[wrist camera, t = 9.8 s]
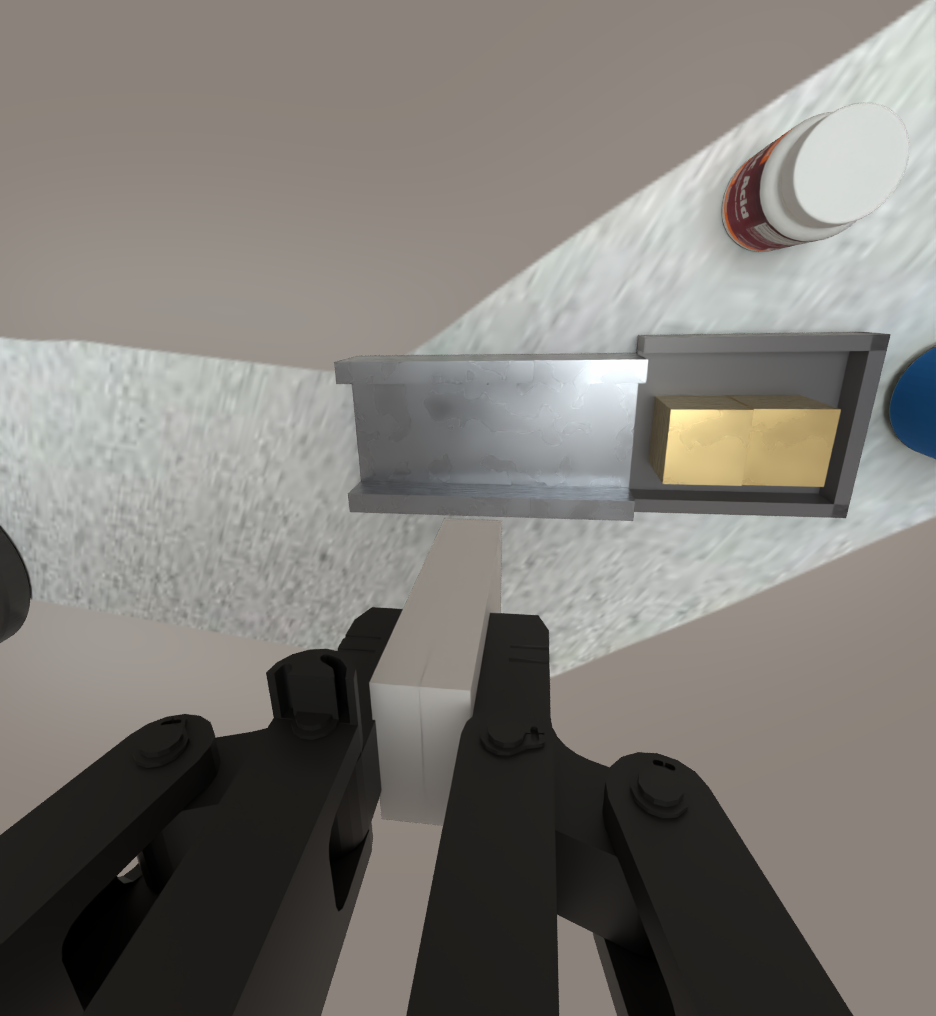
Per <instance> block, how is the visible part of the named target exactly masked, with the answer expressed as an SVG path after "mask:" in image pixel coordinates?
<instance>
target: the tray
mask: <svg viewBox="0 0 936 1016" xmlns="http://www.w3.org/2000/svg"><path fill="white" fill-rule="evenodd" d="M889 338H890V334H881V333H869V332H829V333H759V334H689V335H638V342H637V354H639V355H641V356H643V357H644V358H646V359H648V367H647V378H646V383H638V390H637V401H636V413H635V424H634V435H633V447H632V458H631V469H630V481H629V489H630V491H631V493H632V496H633V498H634V500H635V507H634V512H660V513H694V514H728V515H762V516H797V517H831V518H846V516H847V512H848V508H849V504H850V500H851V495H852V491H853V487H854V483H855V479H856V475H857V471H858V467H859V462H860V458H861V454H862V450H863V446H864V442H865V438H866V433H867V429H868V425H869V421H870V417H871V413H872V409H873V405H874V400H875V396H876V392H877V388H878V384H879V380H880V376H881V371H882V367H883V363H884V359H885V355H886V351H887V347H888V343H889ZM727 395H802V396H805V397H808V398H810V399H813V400H816V401H819V402H822V403H824V404H827V405H830V406H833V407H836V408H838V409H841V412H840V416H839V421H838V425H837V430H836V434H835V439H834V443H833V448H832V452H831V457H830V461H829V466H828V470H827V475H826V479H825V484H824V487H807V486H763V485H742V486H728V485H684V484H662V482H661V481H660V479H659V477H658V476H657V474H656V473H655V471H654V470H653V468H652V466H651V465H650V463H649V462H648V460H649V450H650V440H651V430H652V420H653V410H654V400H655V396H727Z"/></svg>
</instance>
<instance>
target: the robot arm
mask: <svg viewBox="0 0 936 1016" xmlns="http://www.w3.org/2000/svg"><path fill="white" fill-rule="evenodd" d="M501 564H502V521H498V520H472V519H445V518H444V521H443V523H442V525H441V527H440V529H439V532H438V534H437V536H436V538H435V540H434V542H433V545H432V547H431V549H430V551H429V553H428V556H427V558H426V560H425V562H424V564H423V567H422V569H421V571H420V573H419V575H418V577H417V580H416V582H415V584H414V586H413V588H412V591H411V593H410V595H409V597H408V599H407V601H406V604H405V606H404V608H403V609H392V608H376V607H372V608H370V609H369V610H367V611H366V612H365V613H363V614H362V615H361V616H359V617H358V618H357V619H355V620H354V622H353V623H352V625H351V627H350V629H349V630H348V632H347V634H346V637H345V638H344V639H343V640H342V642H341V644H340V645H339V647H338V651H334V650H330V649H313V650H306V651H303V652H299V653H296V654H292V655H290V656H288V657H286V658H284V659H282V660H281V661H279V662H277V663H276V664H275V665H274V666H273V667H272V668H271V669H270V670H268V671H267V672H266V675H267V680H268V687H269V692H270V698H271V704H272V710H273V716H274V718H273V720H272V722H271V723H270V725H269V726H268V728H266V729H262V730H258V731H253V732H248V733H242V734H236V735H230V736H223V737H217V738H215V734H214V731H213V728H212V725H211V723H210V722H209V721H208V720H206V719H204V718H203V717H201V716H197V715H189V714H182V715H175V716H169V717H165V718H163V719H160V720H157V721H154V722H152V723H149V724H147V725H145V726H144V727H142V728H141V729H139V730H137V731H136V732H134V733H132V734H131V735H129V736H128V737H127V738H125V739H124V740H123V741H121V742H120V743H119V744H118V745H116V746H115V747H114V748H112V749H111V750H110V751H108V752H107V753H106V754H105V755H103V756H102V757H101V758H99V759H98V760H97V761H96V762H94V763H93V764H92V765H90V766H89V767H88V768H86V769H85V770H84V771H83V772H81V773H80V774H79V775H77V776H76V777H75V778H74V779H72V780H71V781H70V782H68V783H67V784H66V785H65V786H63V787H62V788H61V789H59V790H58V791H57V792H56V793H54V794H53V795H52V796H50V797H49V798H48V799H46V800H45V801H44V802H42V803H41V804H40V805H39V806H37V807H36V808H35V809H33V810H32V811H31V812H30V813H28V814H27V815H26V816H25V817H23V818H22V819H21V820H20V821H18V822H17V823H15V824H14V825H13V826H11V827H10V828H9V829H8V830H6V831H5V832H4V833H3V834H1V835H0V1016H321V1013H322V1010H323V1007H324V1004H325V1001H326V997H327V994H328V991H329V987H330V984H331V981H332V978H333V975H334V971H335V968H336V965H337V962H338V958H339V955H340V952H341V949H342V945H343V942H344V939H345V936H346V932H347V929H348V926H349V922H350V920H351V916H352V913H353V910H354V907H355V904H356V900H357V897H358V894H359V890H360V887H361V884H362V881H363V878H364V874H365V871H366V868H367V865H368V861H369V858H370V855H371V852H372V842H373V833H372V824H371V821H372V818H373V815H374V812H375V809H376V806H377V803H378V800H379V797H380V806H381V816H382V819H386V820H395V821H405V822H414V823H423V824H432V825H441V826H443V829H442V834H441V839H440V844H439V850H438V855H437V860H436V865H435V871H434V875H433V881H432V886H431V891H430V896H429V901H428V906H427V912H426V917H425V922H424V927H423V932H422V938H421V943H420V948H419V953H418V958H417V963H416V968H415V974H414V979H413V984H412V989H411V995H410V999H409V1005H408V1010H407V1016H559V991H558V990H559V989H558V946H557V945H558V941H557V915H559V916H561V917H563V918H565V919H567V920H569V921H571V922H573V923H575V924H577V925H579V926H582V927H583V928H585V929H587V930H589V931H591V932H593V936H594V940H595V943H596V946H597V950H598V953H599V956H600V960H601V963H602V966H603V970H604V973H605V977H606V979H607V983H608V987H609V990H610V993H611V997H612V1000H613V1003H614V1006H615V1010H616V1013H617V1016H853V1015H852V1013H851V1012H850V1010H849V1009H848V1007H847V1005H846V1003H845V1002H844V1000H843V999H842V997H841V996H840V994H839V992H838V991H837V989H836V988H835V986H834V984H833V983H832V981H831V980H830V978H829V977H828V975H827V973H826V972H825V970H824V969H823V967H822V965H821V964H820V962H819V961H818V959H817V958H816V956H815V954H814V953H813V952H812V950H811V948H810V946H809V945H808V943H807V942H806V940H805V939H804V937H803V935H802V934H801V932H800V931H799V929H798V927H797V926H796V924H795V923H794V921H793V920H792V918H791V916H790V915H789V913H788V912H787V910H786V908H785V907H784V905H783V904H782V902H781V901H780V899H779V897H778V896H777V894H776V893H775V891H774V890H773V888H772V886H771V885H770V884H769V882H768V880H767V878H766V877H765V875H764V874H763V872H762V870H761V869H760V867H759V866H758V864H757V863H756V861H755V859H754V858H753V856H752V855H751V853H750V852H749V850H748V848H747V847H746V845H745V844H744V842H743V840H742V839H741V837H740V836H739V834H738V833H737V831H736V829H735V828H734V826H733V825H732V823H731V821H730V820H729V818H728V817H727V815H726V814H725V812H724V810H723V809H722V807H721V806H720V804H719V802H718V801H717V799H716V798H715V796H714V795H713V793H712V791H711V790H710V788H709V787H708V786H707V785H706V783H705V782H704V781H703V780H702V779H701V778H700V777H699V776H698V774H697V773H696V772H695V771H693V770H692V769H690V768H689V767H687V766H686V765H684V764H682V763H681V762H679V761H678V760H675V759H672V758H669V757H667V756H664V755H661V754H658V753H642V752H637V753H634V754H630V755H627V756H623V757H621V758H620V759H619V760H618V761H616V762H615V763H614V764H613V765H612V766H611V767H607V766H604V765H601V764H599V763H596V762H593V761H591V760H588V759H586V758H584V757H582V756H580V755H578V754H576V753H575V752H573V751H572V750H570V749H569V748H568V747H566V746H565V745H564V744H563V743H562V741H561V740H560V739H559V738H558V737H557V735H556V733H555V731H554V729H553V728H552V723H551V718H550V669H549V630H548V629H547V627H546V626H545V624H544V623H543V621H542V620H541V619H540V617H539V616H538V615H522V614H505V613H501ZM29 606H30V589H29V583H28V579H27V575H26V572H25V569H24V566H23V564H22V562H21V559H20V557H19V556H18V554H17V552H16V550H15V548H14V547H13V545H12V544H11V542H10V541H9V539H8V538H7V537H6V535H5V534H4V533H3V531H2V530H1V529H0V643H1V642H3V641H4V640H6V639H8V638H9V637H11V636H12V635H14V634H15V633H16V632H17V631H18V630H19V629H20V628H21V626H22V625H23V623H24V621H25V619H26V617H27V614H28V611H29ZM136 856H137V859H138V862H139V863H138V864H137V865H136V866H135V867H134V868H133V869H132V870H131V871H129V872H128V873H126V874H125V875H124V876H121V877H117V875H118V874H119V873H120V872H121V871H122V870H123V869H124V868H125V867H126V866H127V865H128V864H129V863H130V862H131V861H132V860H133V859H134V858H135V857H136Z"/></svg>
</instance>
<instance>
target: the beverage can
mask: <svg viewBox="0 0 936 1016" xmlns="http://www.w3.org/2000/svg"><path fill="white" fill-rule="evenodd" d="M889 413H890V421H891V425H892V428H893V430H894V432H895V434H896V435H897V437H898V438H899V439H900V440H901V441H902V442H903V443H904V444H905V445H906V446H908V447H909V448H911V449H912V450H914V451H917V452H919V453H922V454H924V455H927V456H929V457H932V458H934V459H936V347H934V348H932V349H930V350H929V351H927V352H926V353H924V354H923V355H922V356H920V357H919V358H918V359H916V360H915V361H914V362H913V363H912V364H911V365H910V366H909V367H908V368H907V370H906V371H905V372H904V373H903V375H902V376H901V378H900V379H899V381H898V383H897V384H896V386H895V388H894V391H893V394H892V397H891V401H890V410H889Z"/></svg>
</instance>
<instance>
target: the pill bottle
mask: <svg viewBox="0 0 936 1016" xmlns="http://www.w3.org/2000/svg"><path fill="white" fill-rule="evenodd" d="M908 158H909V138H908V134H907V130H906V128H905V125H904V124H903V122H902V120H901V119H900V118H899V117H898V116H897V115H896V114H895V113H894V112H893V111H892V110H890V109H889V108H887V107H885V106H882V105H879V104H875V103H857V104H852V105H849V106H846V107H843V108H841V109H838V110H836V111H834V112H828V113H823V114H819V115H816V116H813V117H811V118H809V119H807V120H805V121H803V122H801V123H800V124H798V125H797V126H795V127H794V128H792V129H791V130H789V131H788V132H787V133H785V134H784V135H782V136H781V137H780V138H778V139H777V140H775V141H774V142H772V143H771V144H769V145H768V146H767V147H765V148H764V149H763V150H761V151H760V152H759V153H757V154H756V155H754V156H753V157H752V158H750V159H749V160H748V161H746V162H745V163H744V164H743V165H742V166H741V167H740V168H739V169H738V170H737V172H736V173H735V174H734V176H733V177H732V179H731V180H730V182H729V185H728V187H727V189H726V191H725V194H724V198H723V204H722V218H723V222H724V226H725V228H726V230H727V232H728V234H729V236H730V237H731V238H732V239H733V240H734V241H735V242H736V243H737V244H739V245H740V246H742V247H744V248H746V249H748V250H752V251H760V252H763V251H772V250H777V249H781V248H785V247H790V246H794V245H798V244H803V243H808V242H813V241H818V240H823V239H826V238H829V237H832V236H834V235H836V234H838V233H840V232H842V231H844V230H845V229H847V228H848V227H850V226H851V225H852V224H853V223H855V222H856V221H857V220H859V219H861V218H863V217H865V216H867V215H869V214H870V213H872V212H873V211H875V210H876V209H877V208H879V207H880V206H881V205H882V204H883V203H884V202H885V201H886V200H887V199H888V198H889V197H890V196H891V194H892V193H893V192H894V191H895V189H896V188H897V186H898V184H899V183H900V181H901V179H902V177H903V175H904V172H905V170H906V166H907V162H908Z"/></svg>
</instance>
